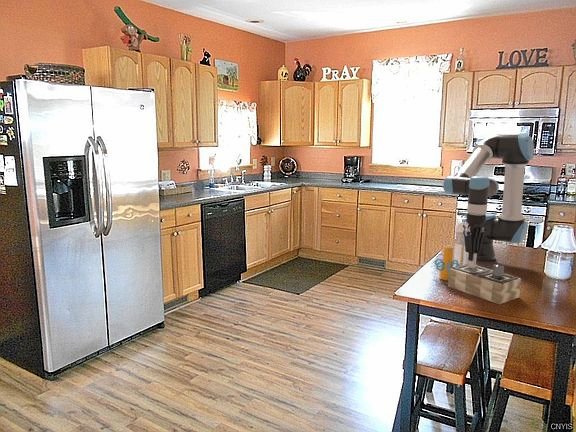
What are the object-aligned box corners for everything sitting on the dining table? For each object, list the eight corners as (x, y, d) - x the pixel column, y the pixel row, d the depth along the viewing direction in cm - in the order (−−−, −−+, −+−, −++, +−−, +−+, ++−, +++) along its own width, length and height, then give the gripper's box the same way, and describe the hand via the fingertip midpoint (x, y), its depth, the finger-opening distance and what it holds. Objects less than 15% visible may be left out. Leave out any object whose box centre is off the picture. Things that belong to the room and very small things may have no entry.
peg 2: (495, 282, 188) (496, 263, 186) (504, 285, 185) (506, 266, 183) (489, 283, 186) (491, 265, 184) (498, 286, 182) (500, 267, 181)
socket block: (467, 280, 205) (469, 262, 203) (519, 297, 185) (521, 277, 183) (447, 286, 197) (449, 267, 196) (499, 304, 178) (501, 283, 176)
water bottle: (463, 272, 216) (467, 221, 211) (450, 269, 221) (454, 219, 216) (470, 269, 220) (475, 219, 215) (457, 266, 225) (461, 217, 220)
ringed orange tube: (460, 283, 200) (463, 251, 197) (435, 282, 202) (438, 249, 199) (456, 275, 212) (458, 244, 209) (432, 273, 214) (435, 242, 211)
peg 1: (468, 283, 199) (470, 266, 197) (476, 286, 195) (478, 268, 194) (463, 285, 196) (464, 267, 195) (471, 288, 193) (472, 270, 192)
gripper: (478, 210, 196) (473, 263, 201) (458, 213, 189) (454, 267, 194) (493, 213, 190) (488, 267, 195) (474, 216, 183) (469, 272, 188)
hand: (471, 267), depth 194 cm, fingers closed
